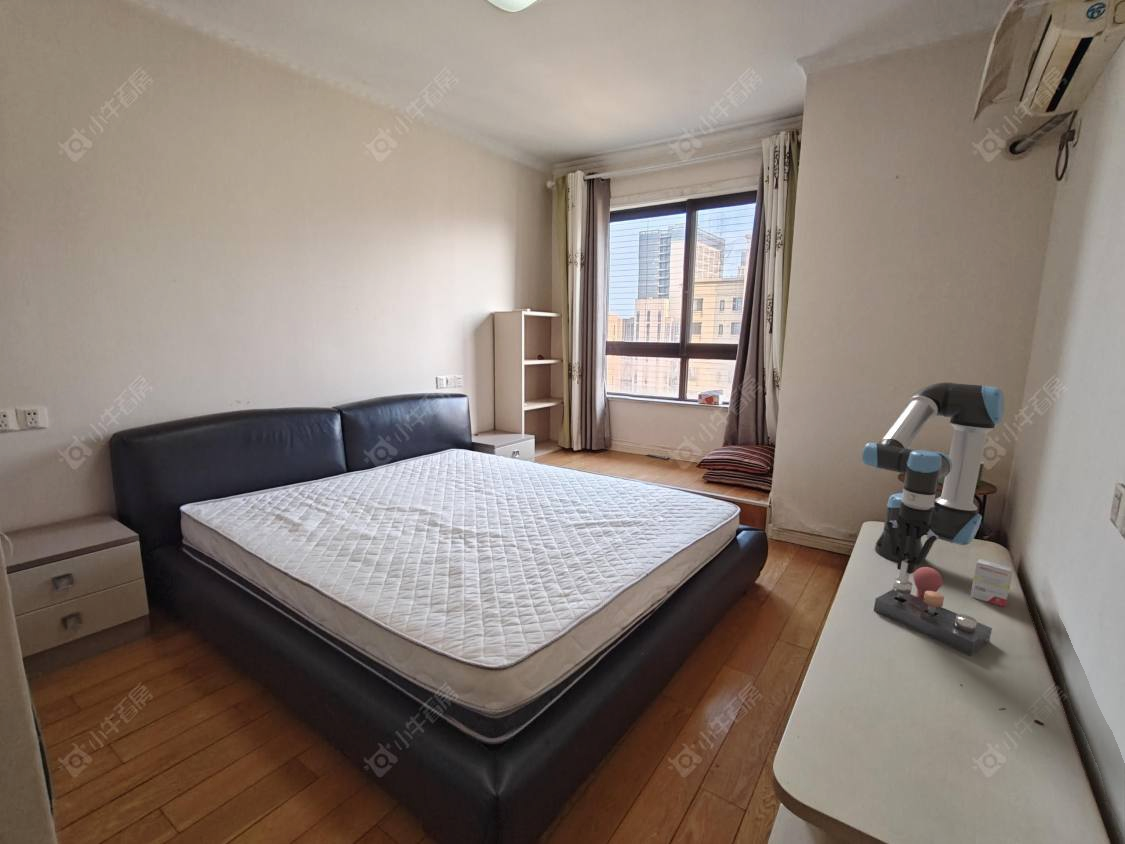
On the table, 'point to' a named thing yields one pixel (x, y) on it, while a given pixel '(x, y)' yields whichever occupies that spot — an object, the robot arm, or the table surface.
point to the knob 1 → (902, 589)
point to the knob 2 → (933, 601)
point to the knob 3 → (965, 623)
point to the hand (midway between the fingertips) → (903, 581)
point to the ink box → (991, 582)
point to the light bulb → (926, 581)
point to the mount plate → (932, 622)
